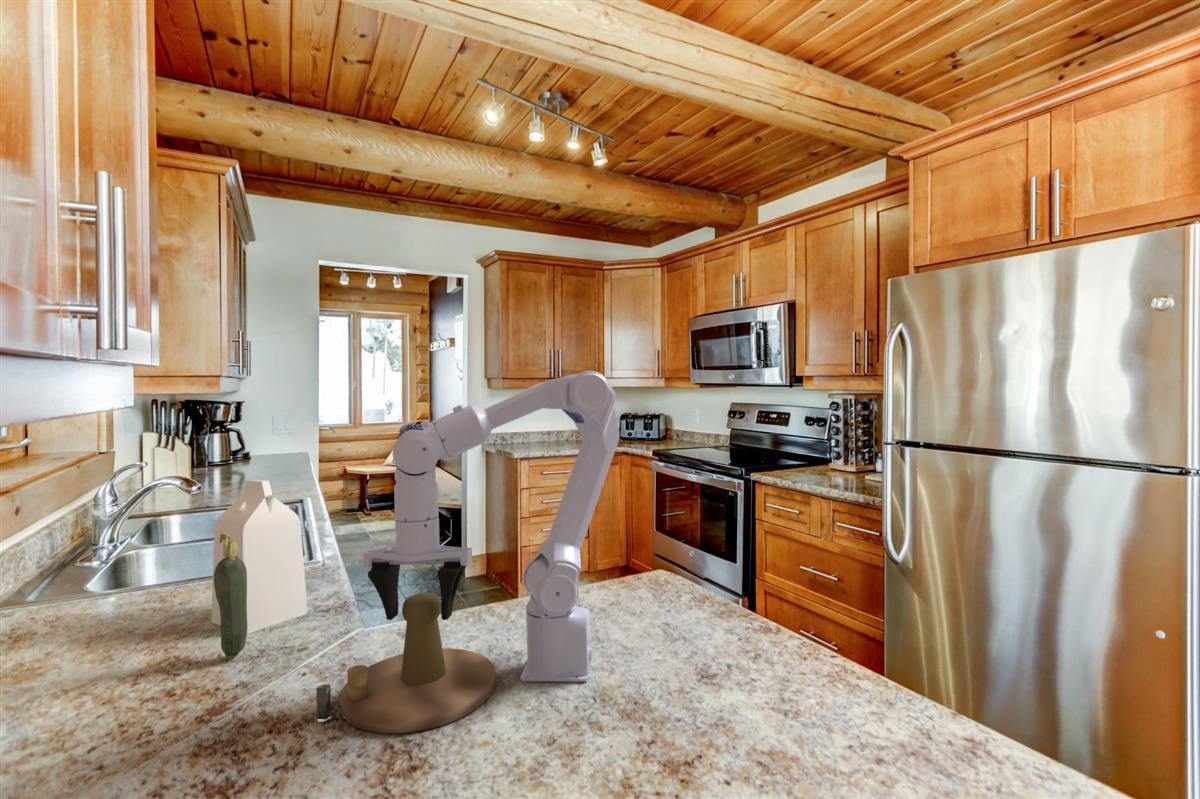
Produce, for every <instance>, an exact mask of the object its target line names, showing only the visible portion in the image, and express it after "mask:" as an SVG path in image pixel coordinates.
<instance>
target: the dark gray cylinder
mask: <svg viewBox="0 0 1200 799" xmlns="http://www.w3.org/2000/svg"><path fill="white" fill-rule="evenodd" d="M315 690H316V693H315V695H316V697H315V698H316V719H317V718H318V719H326V718H328V717H330V716H331V717H332V701H331V700H332V698H331V697H332V696H331V693H332V692H331V685H330V684H329V683H328V684H327V683H325V684H321V685H318V686H317V687H316V689H315Z"/></svg>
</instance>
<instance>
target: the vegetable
mask: <svg viewBox="0 0 1200 799" xmlns="http://www.w3.org/2000/svg"><path fill="white" fill-rule="evenodd" d="M220 536H221V538H220V542H219V543H221V542H222V541H223V540H224V544H223V556H225V557H226V558H224V559H222V560H221V561H220V562H219V563H218V564H217V566H216V568H215V572H214V587H215V592H216V598H217V601H218V604H219V607H220V616H221V626H220V647H221V650H222V652H223V653H224V659H225V660H231V661H232V660H234V659H235V658H236V657H237V656H238V655H239V653H241V651H242V650H243V649H244V648H245V646H246V642H247V636H248V634H247V571H246V567H245V564H244V562H243V561H242V560H241V559H240V558H238V557H237V551H238V547H237V543H236V542H235V541H234V539H232V537H231V536H229V535H228V534H225V533H222V534H221V535H220ZM222 539H223V540H222Z"/></svg>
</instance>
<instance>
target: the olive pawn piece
mask: <svg viewBox="0 0 1200 799" xmlns="http://www.w3.org/2000/svg"><path fill="white" fill-rule="evenodd" d="M401 611H402V612H401V613H402V616H403V619H404V620H405V621H406V627H405V634H404V635H405V637H404V642H403V643H404V644H403V653H402V654H403V662H402V671H401V681H402V682H403V683H405V684H408V685H424V684H428V683H432V682H435V681H437V680H439V679H440V678H442V677H443V676H444V675H445V673H446V669H445V662H444V656H443V650H442V649H443V644H442V639H441V637H442V636H441V632H440V626H439V620H438V617H439V616H440V615H441V598H440V597H439V596H438V595H437V594H435V593H430V592H424V593H423V592H421V593H415V594H413V595H410V596H409V597H407V598H406V599H405V600H404V602H403V604H402V609H401Z"/></svg>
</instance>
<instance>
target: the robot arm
mask: <svg viewBox="0 0 1200 799" xmlns="http://www.w3.org/2000/svg"><path fill="white" fill-rule="evenodd" d="M616 400H617V394H616V392H615V390H614V389H613V387H612V385H611V383H610V382H609V380H608V379H607V378H606V377H605V376H604V375H603V374H602V373H600V372H597V371H595V370H584V371H582V372H580V373H573V374H570V373H569V374H568V375H565V376H563V377H560V378H554V379H551V380H547V381H543V382H540V383H536V384H534V385H532V386H530V387H528V388H526V389H524V390H522V391H520V392H518V393H515V394H514V395H511V396H510V397H507V398H505V399H502V400H500V401H499V402H497V403H494V404H492V405H490V406H489V407H485V408H484V409H482V408H479V407H477V406H474V405H469V404H468V405H467V406H464V407H463V405H462V404H459V405H457V406H455V407H453V408H452V411H453V412H451V413H449V414H446V415H444V416H441V417H439V418H437V419H435V420H433V421H430V422H429V421H428V420H424V421H422V422H420V427H421V429H422V430H421V429H412V430H409V431H405V432H404V433H402V434H401V435H400V436H398V438H397V440H396V441H395V443H394V445H393V449H392V458H393V462H394V463H395V465H396V466H397V467H395V471H394V481H395V485H394V487H393V489H394V490H393V492H394V496H393V497H394V500H393V501H394V528H395V529H394V530H395V532H394V533H395V534H394V535H395V546H393V547H380V548H379V547H378V548H369V549H367V550H365V551H363V567H371V568H370V570H368V571H367V577H368V579H369V580H370V582H371V584H372V585H373V586H374V588H375V590H376V591H377V593H378V596H379V598H380V600H381V604H382V606H383V609H384V614H385V617H386V620H387V621H392V620H393V619H395V618H396V617H397V616H398V615H399V576H400V569H401V566H402V565H443V566H442V567H440V568H439V569H438V570H437V572H436V573H437V578H438V584H439V589H440V601H441V611H440V616H441V620H442V621H448V620H449V619H450V618H451V616H452V614H453V608H454V602H455V597H456V593H457V591H458V587H459V584H460V582H461V579H462V576H463V574H464V571H465V570H466V567H467V566H469V565H470V564H471V563H472V562H473V548H472V547H459V546H447V545H440V518H439V514H440V513H439V483H438V482H437V479H436V475H437V474H436V466H437V463H438V461H439V460H443V461H448V460H449V459H452V458H454V457H456V456H458V455H461V454H463V453H465V452H467V451H469V450H471V449H474V448H476V447H478V446H481V445H483V444H485V443H487V442H488V440H489V438H490V435H491V432H492V431H493V429H496V428H498V427H500V426H501V427H502V426H503V425H505V424H508V423H510V422H513V421H515V420H518V419H520V418H523V417H525V416H527V415H531V414H532V413H535V412H538V411H540V410H542V409H547V410H548V409H550V410H561V411H562V412H564V414H566V415H567V416H568V417H569V418H570V419H571V420H572V421H573V423H574V425H575V427H576V429H577V430H578V432H579V434H580V436H581V438H582V442H581V444H580V448H579V449H578V452H577V456H576V458H575V461H574V463H573V466H572V469H571V471H570V475H569V477H568V481H567V483H566V486H565V489H564V491H563V494H562V497H561V499H560V500H561V501H560V503H559V505H558V508H557V511H556V513H555V517H554V519H553V522H552V525H551V528H550V531H549V534H548V535H547V538H546V539H545V540H544V541H543V542H542V543H541V545H540V546H539V548H538V551H537V553H536V555H535V557H534V558H533V559H532V560H531V561H530V562H528V564H527V566H526V567H525V568H524V569H525V570H524V571H523V572H524V573H523V584H524V586H525V588H526V590H527V591H528V593H529V594H530V597H529V600H528V602H527V604H526V605H525V610H526V611H525V612H526V613H525V615H526V620H525V621H526V622H525V623H526V653H527V654H526V656H527V660H526V663H525V666H524V668H523V670H522V672H521V675H520V677H519V680H520V681H522V682H575V683H577V682H578V683H580V682H587V681H588V679H589V678H588V677H589V673H590V669H591V664H592V661H593V648H592V633H591V632H592V630H591V613H590V608H586V607H579V606H576V603H577V601H578V598H579V593H580V588H579V577H580V573H581V571H582V560H581V549H582V546H583V544H584V541H585V538H586V534H587V532H588V529H589V526H590V525H591V524H590V523H591V521H592V518H593V515H594V512H595V509H596V506H597V503H598V501H599V498H600V494H601V492H602V490H603V486H604V483H605V481H606V478H607V476H608V472H609V470H610V467H611V463H612V460H613V457H614V454H615V452H616V449H617V446H618V444H619V441H620V431H619V423H618V422H619V421H618V417H617V411H616V402H617V401H616Z"/></svg>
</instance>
